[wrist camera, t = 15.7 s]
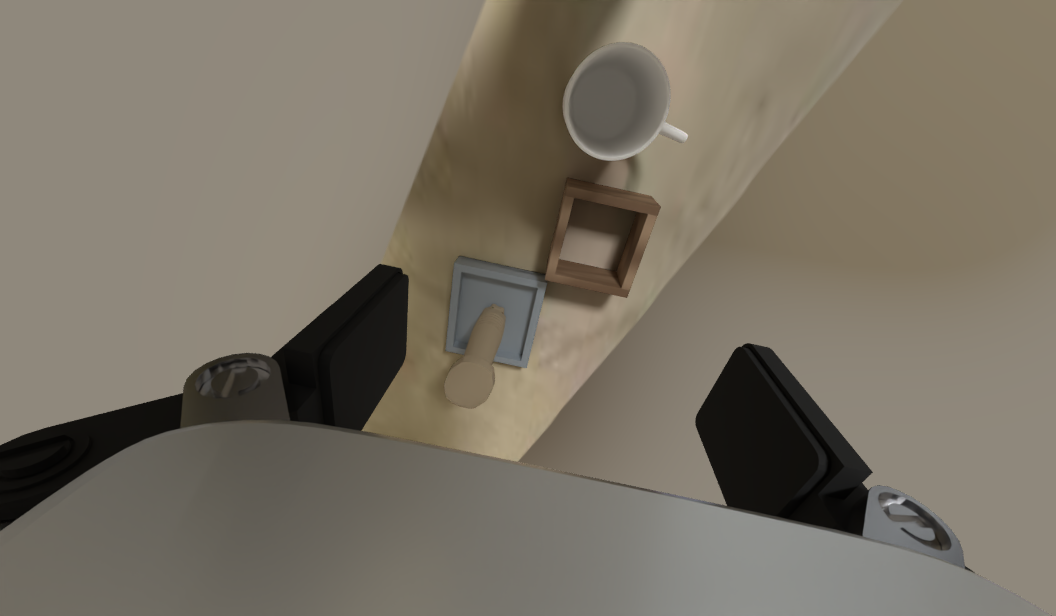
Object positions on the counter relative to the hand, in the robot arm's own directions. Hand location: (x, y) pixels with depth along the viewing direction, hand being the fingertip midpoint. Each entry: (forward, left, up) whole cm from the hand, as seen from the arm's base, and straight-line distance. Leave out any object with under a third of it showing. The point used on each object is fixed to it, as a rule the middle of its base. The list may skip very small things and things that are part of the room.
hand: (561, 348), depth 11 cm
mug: (-6, +4, -36) cm, 37 cm away
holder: (+7, +6, -36) cm, 37 cm away
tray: (+21, -5, -36) cm, 42 cm away
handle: (+21, -5, -36) cm, 41 cm away
